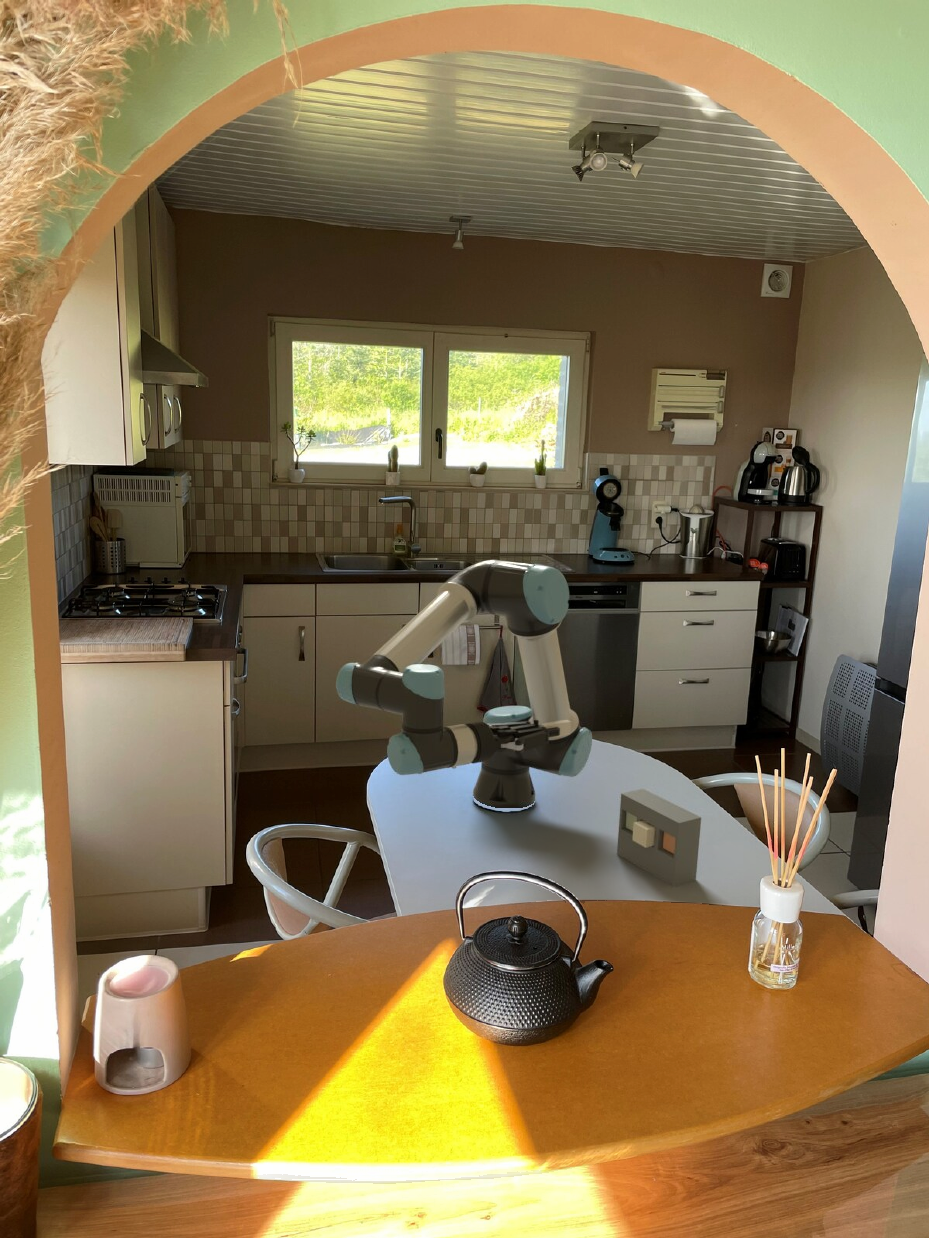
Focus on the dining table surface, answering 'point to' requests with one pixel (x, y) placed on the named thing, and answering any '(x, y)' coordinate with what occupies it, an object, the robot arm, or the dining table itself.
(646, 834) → the cream key
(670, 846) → the terracotta key
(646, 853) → the keypad
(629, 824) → the sage key
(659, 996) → the dining table surface
